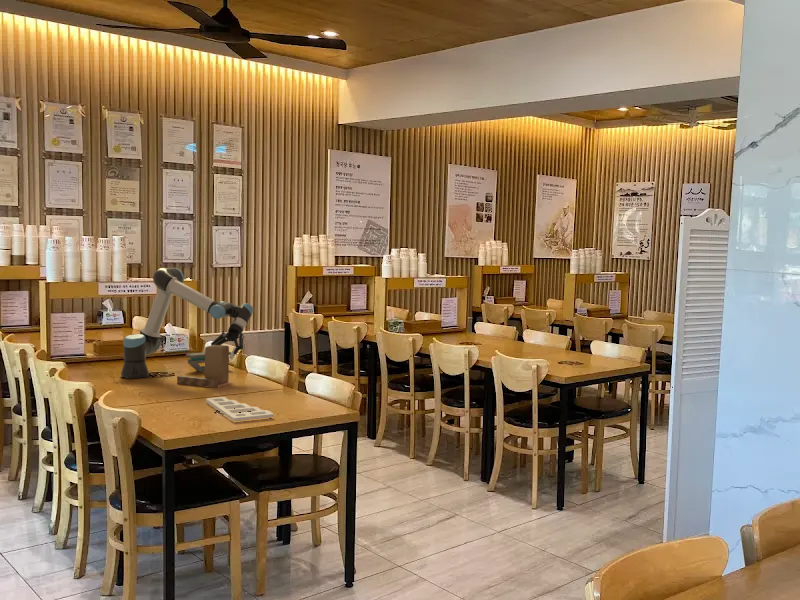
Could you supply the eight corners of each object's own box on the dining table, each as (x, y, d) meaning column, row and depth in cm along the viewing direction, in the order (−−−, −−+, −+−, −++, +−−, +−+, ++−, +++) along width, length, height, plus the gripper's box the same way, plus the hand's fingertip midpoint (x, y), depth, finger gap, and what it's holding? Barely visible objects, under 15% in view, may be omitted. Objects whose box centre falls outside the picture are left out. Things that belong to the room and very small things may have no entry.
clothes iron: (191, 374, 430) (191, 355, 429) (185, 372, 436) (185, 353, 435) (230, 370, 445) (230, 352, 444) (225, 368, 451) (225, 350, 451)
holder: (205, 404, 352) (205, 398, 352) (242, 400, 361) (242, 395, 361) (233, 424, 313) (233, 418, 313) (274, 420, 322) (274, 414, 322)
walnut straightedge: (177, 383, 399) (177, 376, 399) (180, 382, 402) (180, 375, 402) (215, 387, 389) (214, 380, 389) (218, 386, 392) (218, 379, 392)
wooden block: (229, 381, 405) (229, 345, 404) (220, 384, 396) (221, 347, 394) (212, 380, 408) (212, 344, 406) (203, 383, 398) (204, 346, 396)
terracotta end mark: (199, 384, 398) (199, 383, 398) (213, 380, 409) (213, 380, 409) (219, 386, 393) (219, 385, 393) (232, 382, 404) (232, 382, 404)
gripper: (258, 332, 412) (242, 363, 400) (222, 330, 422) (205, 359, 410) (252, 324, 407) (236, 354, 395) (216, 321, 417) (198, 351, 405)
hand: (220, 357), depth 402 cm, fingers open, 13 cm apart
